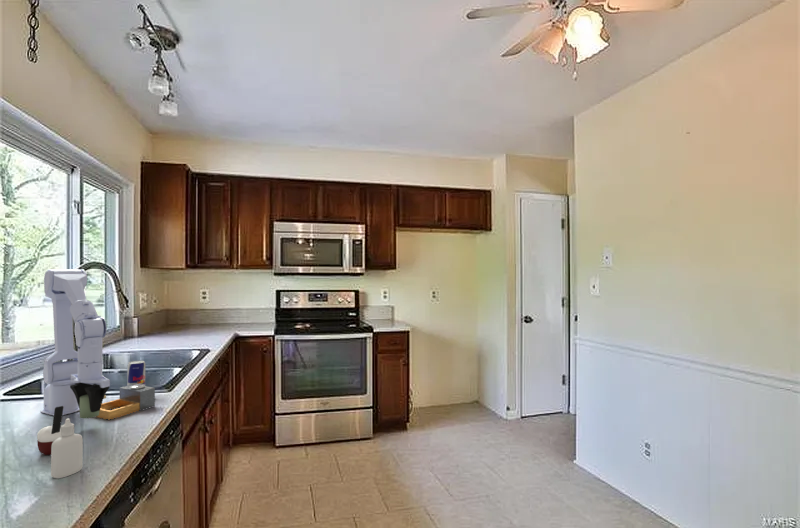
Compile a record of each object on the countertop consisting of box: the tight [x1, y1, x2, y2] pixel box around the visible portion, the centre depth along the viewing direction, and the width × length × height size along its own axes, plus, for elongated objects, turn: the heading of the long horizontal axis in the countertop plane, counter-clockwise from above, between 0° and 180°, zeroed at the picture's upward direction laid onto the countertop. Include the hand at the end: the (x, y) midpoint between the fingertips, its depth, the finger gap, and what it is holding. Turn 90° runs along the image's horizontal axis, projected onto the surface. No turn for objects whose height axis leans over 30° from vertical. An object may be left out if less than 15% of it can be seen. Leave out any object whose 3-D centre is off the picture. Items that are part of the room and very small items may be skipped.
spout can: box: [79, 394, 107, 420], centre depth 128 cm, size 5×7×6 cm
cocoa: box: [36, 406, 64, 456], centre depth 110 cm, size 10×6×12 cm, turn 28°
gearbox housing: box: [95, 384, 156, 421], centre depth 142 cm, size 10×15×7 cm
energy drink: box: [126, 360, 146, 386], centre depth 157 cm, size 5×5×12 cm
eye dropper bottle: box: [50, 418, 84, 480], centre depth 100 cm, size 4×6×12 cm
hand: (89, 409), depth 127 cm, fingers closed on spout can, 5 cm apart
